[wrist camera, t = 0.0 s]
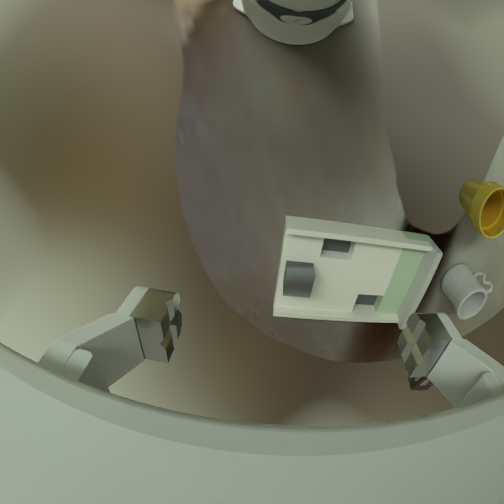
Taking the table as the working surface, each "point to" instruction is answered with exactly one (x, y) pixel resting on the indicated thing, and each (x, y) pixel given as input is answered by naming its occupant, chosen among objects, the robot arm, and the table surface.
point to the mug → (465, 290)
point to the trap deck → (356, 271)
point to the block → (298, 279)
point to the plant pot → (484, 206)
